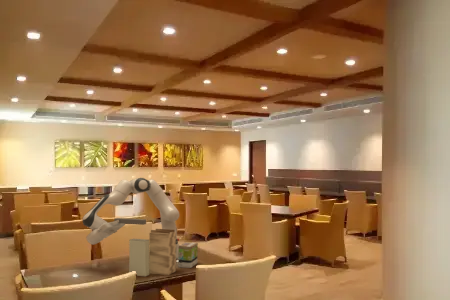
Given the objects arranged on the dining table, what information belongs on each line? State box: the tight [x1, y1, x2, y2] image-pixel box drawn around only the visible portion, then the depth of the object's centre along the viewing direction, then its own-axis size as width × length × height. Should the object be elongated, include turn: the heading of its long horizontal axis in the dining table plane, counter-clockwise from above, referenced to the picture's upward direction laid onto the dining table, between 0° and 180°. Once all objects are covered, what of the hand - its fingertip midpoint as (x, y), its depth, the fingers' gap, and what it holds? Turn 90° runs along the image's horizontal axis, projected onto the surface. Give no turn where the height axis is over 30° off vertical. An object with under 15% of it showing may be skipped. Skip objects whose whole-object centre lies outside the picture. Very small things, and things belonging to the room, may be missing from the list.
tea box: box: [177, 241, 199, 269], centre depth 285 cm, size 15×10×15 cm, turn 168°
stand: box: [148, 228, 177, 276], centre depth 267 cm, size 10×14×28 cm
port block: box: [128, 238, 150, 277], centre depth 260 cm, size 4×12×22 cm, turn 68°
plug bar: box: [113, 217, 147, 226], centre depth 264 cm, size 3×22×3 cm, turn 68°
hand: (121, 220), depth 267 cm, fingers closed on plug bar, 3 cm apart
